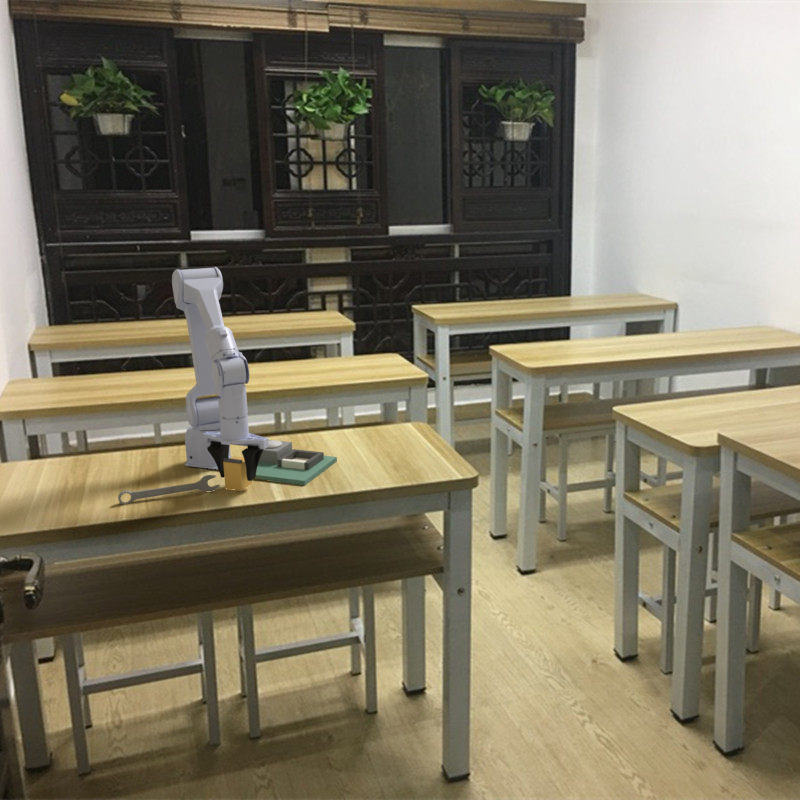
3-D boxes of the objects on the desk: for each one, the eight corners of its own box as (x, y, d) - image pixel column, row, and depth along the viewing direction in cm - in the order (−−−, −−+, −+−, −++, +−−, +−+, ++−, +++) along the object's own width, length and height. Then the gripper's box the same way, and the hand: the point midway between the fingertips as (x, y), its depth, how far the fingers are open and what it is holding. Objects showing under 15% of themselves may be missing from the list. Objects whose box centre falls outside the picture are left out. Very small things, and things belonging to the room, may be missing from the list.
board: (231, 476, 173) (229, 456, 172) (267, 453, 187) (266, 435, 186) (305, 485, 167) (304, 465, 166) (336, 461, 181) (336, 442, 180)
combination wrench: (116, 491, 157) (219, 475, 164) (116, 488, 158) (218, 473, 165) (119, 508, 158) (220, 492, 165) (119, 506, 159) (220, 490, 166)
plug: (225, 489, 166) (223, 459, 164) (235, 482, 169) (233, 453, 168) (242, 491, 164) (239, 461, 163) (252, 484, 168) (250, 455, 166)
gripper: (192, 417, 162) (197, 480, 165) (254, 423, 157) (258, 488, 160) (211, 408, 168) (216, 469, 171) (272, 414, 163) (275, 476, 167)
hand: (238, 477), depth 166 cm, fingers open, 6 cm apart
